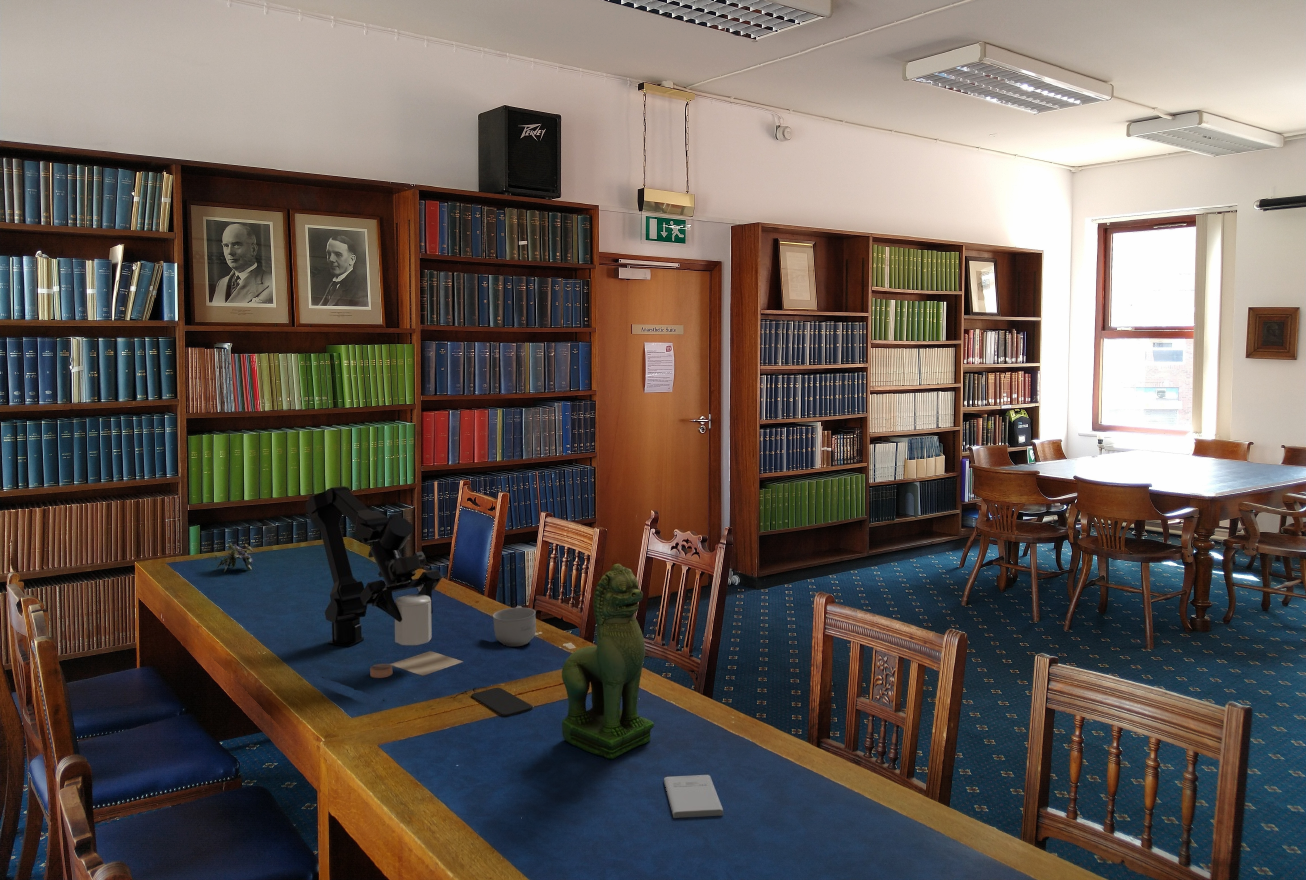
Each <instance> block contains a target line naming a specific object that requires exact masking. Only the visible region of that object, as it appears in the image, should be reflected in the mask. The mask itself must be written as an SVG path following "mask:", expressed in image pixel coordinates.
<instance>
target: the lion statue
mask: <svg viewBox="0 0 1306 880" xmlns="http://www.w3.org/2000/svg"><path fill="white" fill-rule="evenodd" d="M593 592H594V595H593V598H592V600H593V601H592V605H593V614H594V619H595V624H596V645H595V646H594V645H590V646H584V647H581V648H578V649H577V650H575V651H574V652H572V653H571V654H570V655H569V656H568V657H567V658H566V660H565V661H564V664H563V666H562V669H561V678H562V679H561V680H562V683H563V685H564V687H565V690H566V691H565V692H566V695H567V700H568V701H567V702H568V708H567V709H568V710H567V716H566V717H565V718H563V720H562V721H561V730H562V731H561V732H562V733H561V734H562V738H563V740H564V741H565V742H567V743H569V744H570V745H572V746H575V747H577V748H579V749H581V750H583V751H585V752H589V753H590V754H593V755H596V756H601V757H604V758H606V759H608V760H614V759H615V758H618V757H620V756H621V755H622V754H625V753H628V752H629V751H630V750H632V749H635V748H637V747H641V746H642V745H644V744H645V745H646V744H647V743H648V742H650V740H651V737H652V736H651V730H652V729H653V728H654V727H655V723H654V722H653V721H652V720H650V719H649V718H646V717H642V716H640V715H639V714H638V698H639V689H640V683H641V676H642V671H643V667H644V666H643V665H644V661H645V656H646V644H645V638H644V635H643V632H642V629H641V628H640V623H639V622H638V620H637V618H636V616H635V614H636V613H637V612H638V611H639V603H640V602H642V600H643V598H644V597H643V596H644V593H643V591H642V590H641V588H640V587H639V581H638V579H637V578H636V576H635V575H634V572H633V571H632V569H630V568H628V567H624V566H623V565H622V564H620V563H615V564H613V565H612V567H611V568H610V570H609V571H607V572H605V574H603V575H602V576H601V578H600V580H599V581H598V582H597V584H596V587H595V588H594V591H593ZM590 689H591V691H590V692H591V707H590V709H588V710H587V707H586V704H587V703H586V702H587V697H588V693H589V690H590ZM621 706H622V707H621Z"/></svg>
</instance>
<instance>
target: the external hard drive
mask: <svg viewBox="0 0 1306 880" xmlns="http://www.w3.org/2000/svg"><path fill="white" fill-rule="evenodd" d="M663 783H664V787H666V788H665V792H666V791H667V792H666V795H667V799H668V803H669V806H670V809H671V814H672V818H673V819H676V818H677V819H678V818H696V817H697V818H699V817H700V818H701V817H714V816H715V817H718V816H724V809H723V806H722V803H721V800H720V798H719V796H718V794H717V793H718V792H717V790H716V787H715V786H714V782H713V780H712V777H711V775H710V774H699V775H697V774H695V775H679V776H678V775H677V776H666V777H664V779H663Z"/></svg>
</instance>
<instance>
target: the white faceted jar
mask: <svg viewBox="0 0 1306 880" xmlns="http://www.w3.org/2000/svg"><path fill="white" fill-rule="evenodd" d="M394 602H395V604H396V606H397V608H398V610H399V612H400V614H401V617H402V621H401V622H398V621H397V620H396V619H394V642H395V643H397V644H399V645H401V646H420V645H423V644H427V643H429V642H430V640H431V639H432V635H433V634H432V632H433V631H432V614H431V600H430V597H429V596H426V595H418V593H417V594H405V595H402V596H398V597H396V598H395V599H394Z"/></svg>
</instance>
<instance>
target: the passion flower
mask: <svg viewBox="0 0 1306 880" xmlns="http://www.w3.org/2000/svg"><path fill="white" fill-rule="evenodd" d="M245 547H246V549H244V550H243V548H241V547H239V546H238V545H237V544H232V543H231V542H229V543H228V546H227V548H228V549H229V550H230V552H228V556H227V557H224V558H220V557H218V555H217V554H214V561H217V559H218V560H220V562H219V563H218V565H217V567H216V568H219V567H221V565H222V566H224V571H223V573H226V571H227V569H228V568H232V569H233V568H235V567H236V563H237V559H240V560H241V559H242V561H243V563H244V565H245V567H246V569H247V570H248V571H252V570H253V569H252V566H251V565H252V564H253V561H254V559H253V558H252V557H251V555H250V554H248V551H251V553H254V549H253V548H252V547H251V546H249V544H247V543H245Z"/></svg>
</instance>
